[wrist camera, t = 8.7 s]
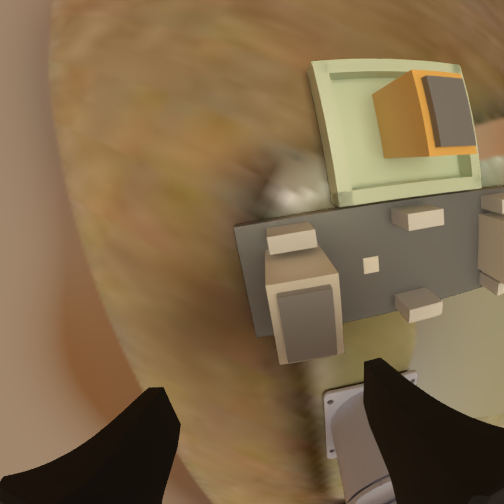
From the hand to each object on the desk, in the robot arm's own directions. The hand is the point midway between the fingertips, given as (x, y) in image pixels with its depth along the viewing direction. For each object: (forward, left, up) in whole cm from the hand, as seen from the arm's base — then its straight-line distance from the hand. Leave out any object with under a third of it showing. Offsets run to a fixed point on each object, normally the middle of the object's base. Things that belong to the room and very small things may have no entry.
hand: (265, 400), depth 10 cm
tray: (+9, -10, -10) cm, 17 cm away
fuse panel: (+1, -10, -10) cm, 14 cm away
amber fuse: (+9, -10, -9) cm, 17 cm away
